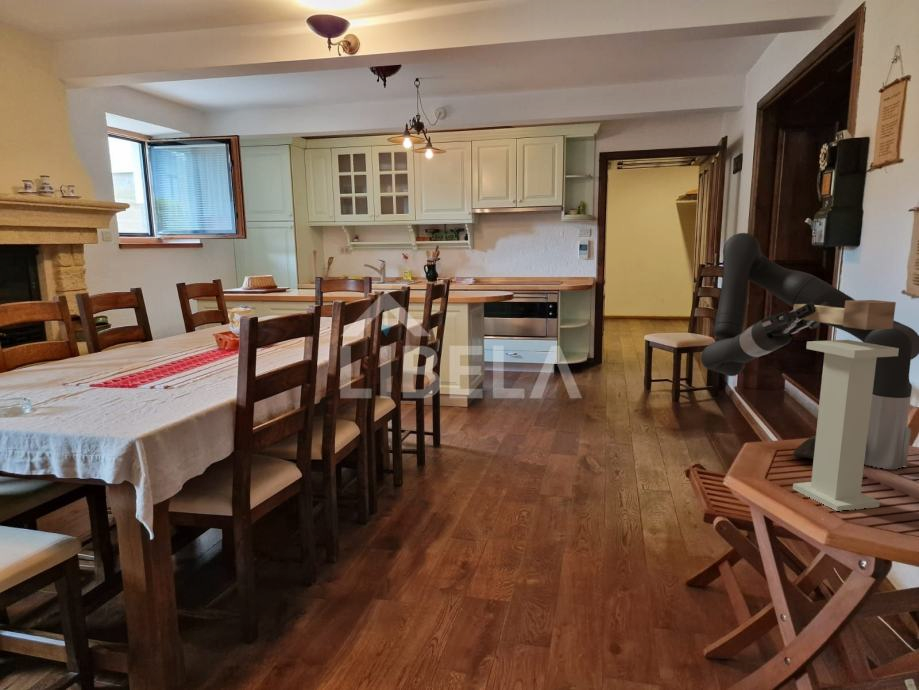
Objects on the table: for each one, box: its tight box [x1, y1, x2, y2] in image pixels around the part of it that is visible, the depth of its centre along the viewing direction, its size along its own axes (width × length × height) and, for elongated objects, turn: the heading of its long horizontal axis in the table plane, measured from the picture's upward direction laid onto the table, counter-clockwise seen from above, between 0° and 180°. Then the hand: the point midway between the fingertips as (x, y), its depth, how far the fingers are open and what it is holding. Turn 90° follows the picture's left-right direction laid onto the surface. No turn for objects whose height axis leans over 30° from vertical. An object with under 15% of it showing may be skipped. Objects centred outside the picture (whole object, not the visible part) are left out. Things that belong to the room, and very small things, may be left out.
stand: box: [792, 339, 899, 512], centre depth 112 cm, size 11×10×32 cm
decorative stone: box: [792, 435, 816, 460], centre depth 139 cm, size 17×6×4 cm, turn 131°
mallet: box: [792, 299, 897, 330], centre depth 113 cm, size 19×6×5 cm, turn 12°
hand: (820, 306), depth 116 cm, fingers closed on mallet, 3 cm apart
